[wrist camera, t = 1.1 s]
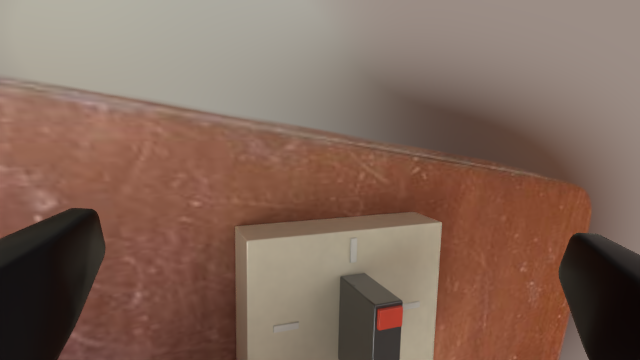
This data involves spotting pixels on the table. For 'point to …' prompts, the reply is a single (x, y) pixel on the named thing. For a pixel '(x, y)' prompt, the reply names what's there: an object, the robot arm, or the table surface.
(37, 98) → the table surface
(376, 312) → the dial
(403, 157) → the table surface
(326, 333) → the panel
